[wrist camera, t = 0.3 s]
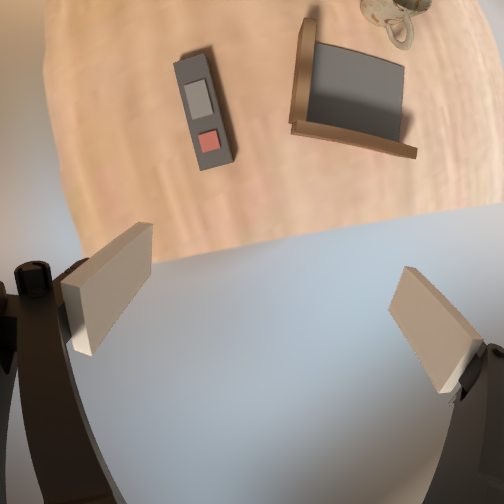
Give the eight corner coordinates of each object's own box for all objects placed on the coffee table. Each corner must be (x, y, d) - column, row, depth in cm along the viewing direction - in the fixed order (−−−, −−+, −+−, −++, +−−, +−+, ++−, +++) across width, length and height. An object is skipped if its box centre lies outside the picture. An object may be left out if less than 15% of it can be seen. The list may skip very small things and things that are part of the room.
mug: (392, -7, 26) (417, -32, 17) (416, 58, 31) (450, 43, 21) (345, -10, 27) (364, -40, 18) (370, 57, 32) (398, 37, 22)
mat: (310, 42, 31) (311, 41, 31) (403, 68, 32) (404, 67, 31) (301, 123, 36) (302, 123, 36) (396, 144, 36) (397, 144, 36)
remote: (177, 66, 33) (172, 62, 31) (206, 57, 33) (203, 52, 30) (203, 169, 39) (199, 171, 36) (233, 161, 38) (232, 162, 36)
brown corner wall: (298, 33, 31) (304, 17, 25) (405, 62, 31) (423, 53, 26) (287, 133, 36) (291, 131, 31) (396, 156, 37) (415, 159, 31)
